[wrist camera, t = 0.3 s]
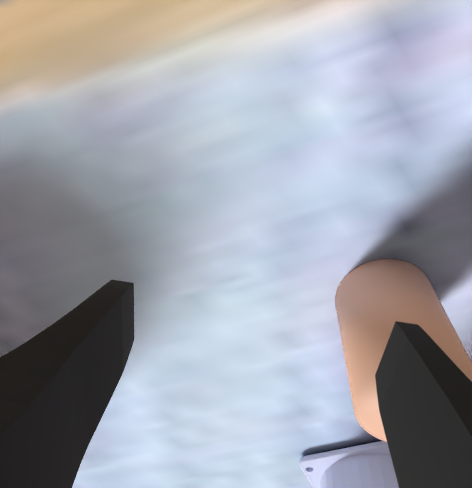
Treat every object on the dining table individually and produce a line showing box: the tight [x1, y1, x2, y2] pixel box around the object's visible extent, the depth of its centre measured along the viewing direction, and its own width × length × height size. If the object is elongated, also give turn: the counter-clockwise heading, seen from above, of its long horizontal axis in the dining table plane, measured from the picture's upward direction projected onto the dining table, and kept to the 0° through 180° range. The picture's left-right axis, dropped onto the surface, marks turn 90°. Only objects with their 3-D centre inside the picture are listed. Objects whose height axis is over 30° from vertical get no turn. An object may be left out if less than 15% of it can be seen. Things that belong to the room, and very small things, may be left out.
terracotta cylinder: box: [335, 259, 472, 442], centre depth 20 cm, size 5×5×7 cm
